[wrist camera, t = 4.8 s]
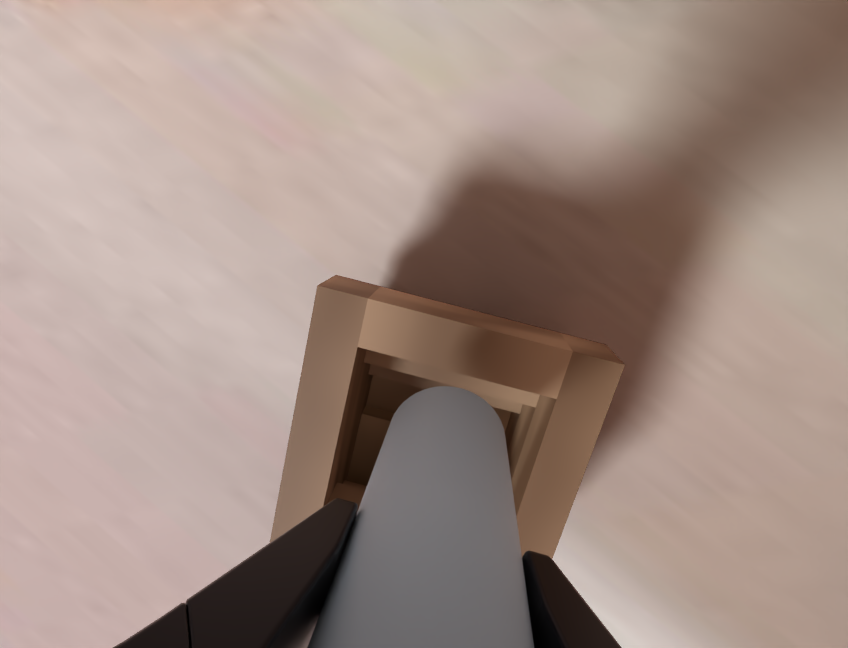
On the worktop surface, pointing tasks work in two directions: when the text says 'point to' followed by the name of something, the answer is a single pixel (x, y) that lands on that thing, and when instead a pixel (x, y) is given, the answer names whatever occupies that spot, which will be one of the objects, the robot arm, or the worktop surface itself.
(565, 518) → the leaning socket
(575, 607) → the robot arm
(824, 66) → the worktop surface
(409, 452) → the gray dowel
